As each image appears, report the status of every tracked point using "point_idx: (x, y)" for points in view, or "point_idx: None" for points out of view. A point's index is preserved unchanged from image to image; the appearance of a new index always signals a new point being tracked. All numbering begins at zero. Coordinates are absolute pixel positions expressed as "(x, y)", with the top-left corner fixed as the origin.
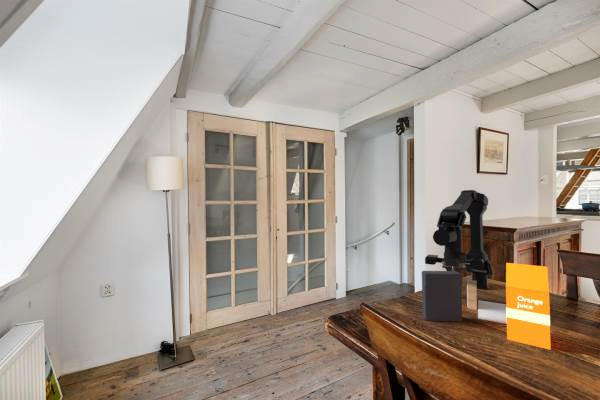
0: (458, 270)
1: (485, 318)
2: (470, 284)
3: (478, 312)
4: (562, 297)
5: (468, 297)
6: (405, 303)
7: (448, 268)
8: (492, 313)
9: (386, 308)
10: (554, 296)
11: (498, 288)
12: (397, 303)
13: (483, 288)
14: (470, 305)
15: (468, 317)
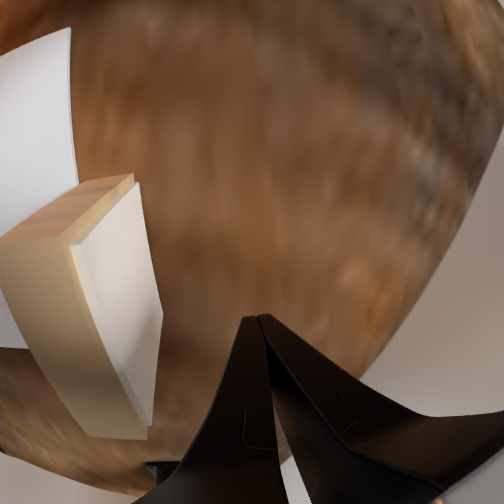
0: (203, 500)
1: (34, 47)
2: (59, 314)
3: (66, 119)
4: (5, 448)
5: (105, 191)
6: (465, 80)
7: (459, 445)
8: (9, 164)
9: (487, 3)
10: (15, 451)
11: (129, 475)
12: (484, 70)
13: (161, 464)
14: (112, 179)
15: (120, 9)
